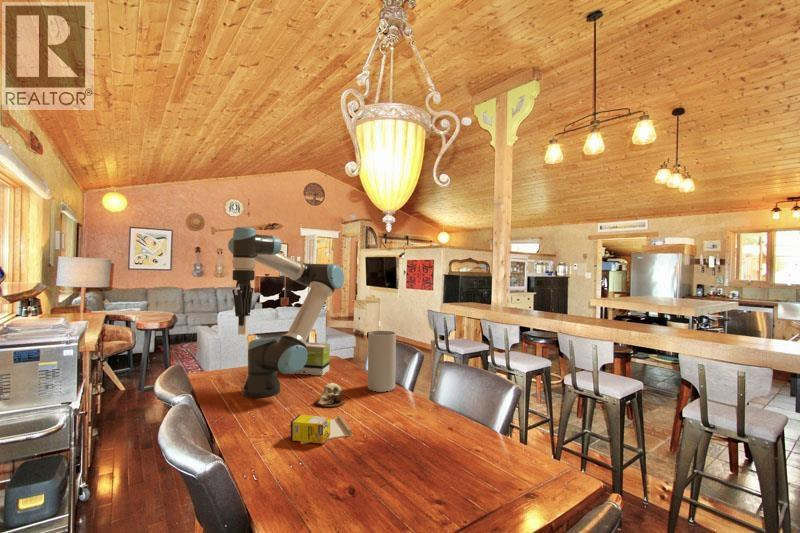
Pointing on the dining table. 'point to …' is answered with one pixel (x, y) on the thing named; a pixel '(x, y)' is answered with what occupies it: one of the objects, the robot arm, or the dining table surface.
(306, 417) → the supplement box
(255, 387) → the robot arm
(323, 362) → the tea box
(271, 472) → the dining table surface
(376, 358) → the cylinder vase
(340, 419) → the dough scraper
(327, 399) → the skull
